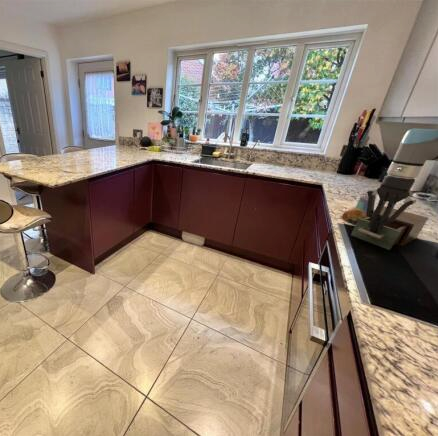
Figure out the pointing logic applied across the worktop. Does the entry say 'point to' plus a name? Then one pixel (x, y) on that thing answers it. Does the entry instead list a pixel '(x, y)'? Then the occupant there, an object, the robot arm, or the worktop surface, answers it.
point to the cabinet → (408, 219)
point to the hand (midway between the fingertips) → (370, 235)
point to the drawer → (380, 233)
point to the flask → (362, 203)
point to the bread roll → (353, 215)
